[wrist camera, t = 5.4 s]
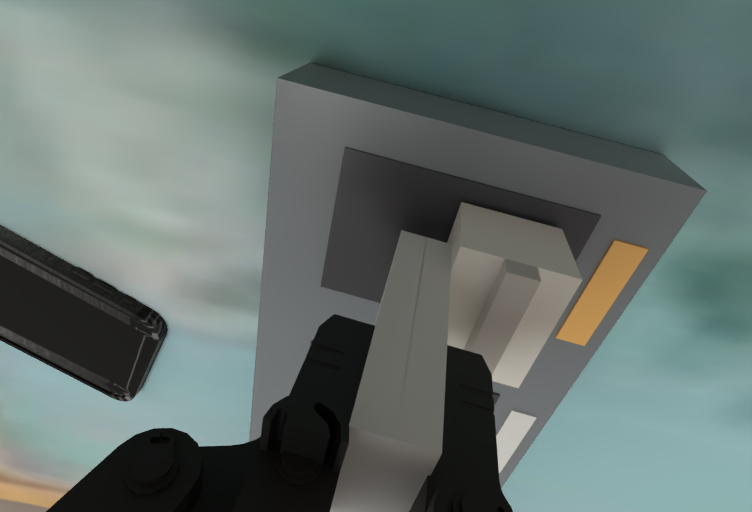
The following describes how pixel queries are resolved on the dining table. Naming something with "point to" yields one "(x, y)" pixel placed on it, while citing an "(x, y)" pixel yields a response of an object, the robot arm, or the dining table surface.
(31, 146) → the dining table surface
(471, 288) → the switch tab
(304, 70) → the switch board
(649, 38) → the dining table surface
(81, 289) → the phone
